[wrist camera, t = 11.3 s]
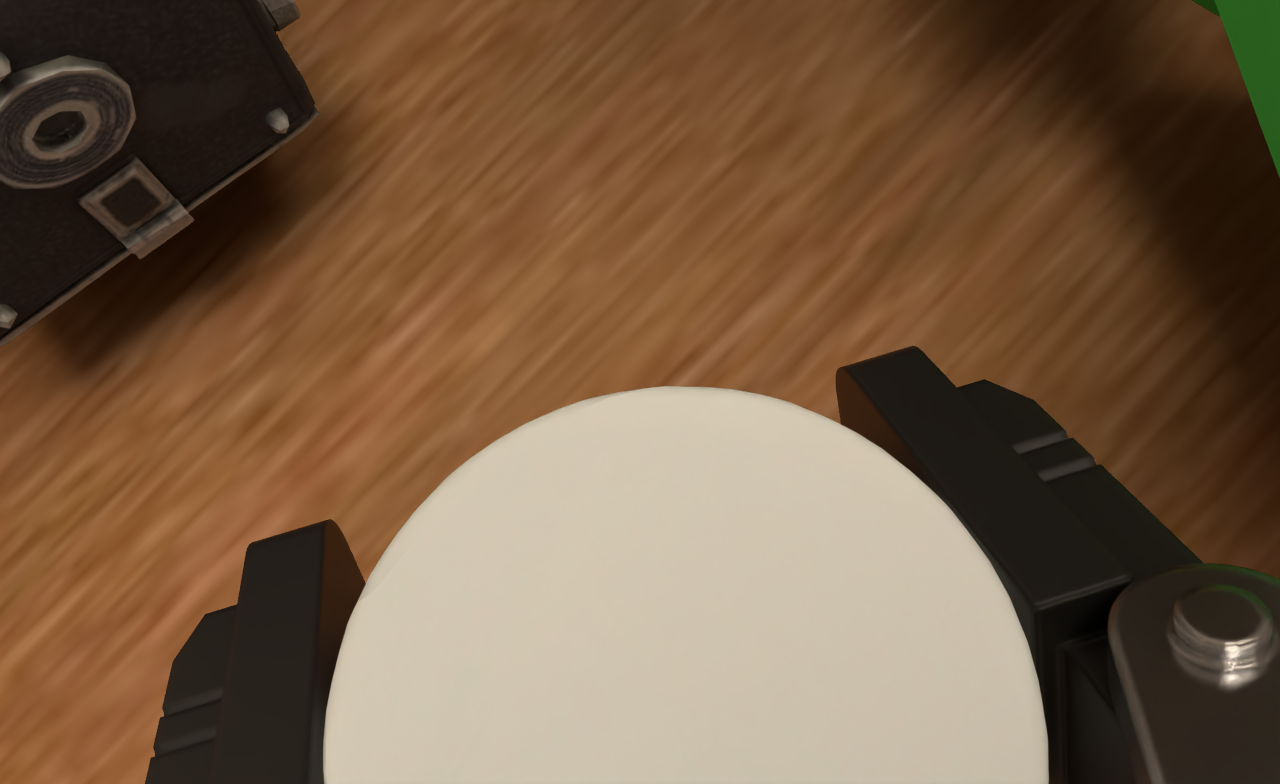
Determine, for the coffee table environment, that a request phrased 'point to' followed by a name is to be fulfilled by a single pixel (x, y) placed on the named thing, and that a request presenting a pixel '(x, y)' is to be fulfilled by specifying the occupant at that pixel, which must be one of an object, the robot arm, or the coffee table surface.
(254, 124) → the camera
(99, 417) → the coffee table surface
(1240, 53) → the toy
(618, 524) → the pill bottle
